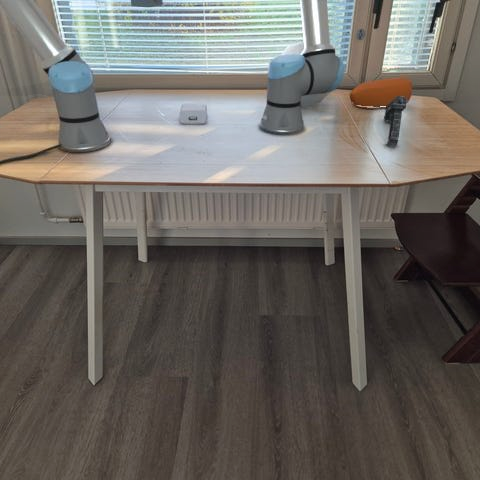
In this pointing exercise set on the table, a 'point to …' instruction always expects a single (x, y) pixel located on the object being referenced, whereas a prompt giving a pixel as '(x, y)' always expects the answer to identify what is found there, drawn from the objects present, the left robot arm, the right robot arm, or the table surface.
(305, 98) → the decorative sphere
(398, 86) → the clog
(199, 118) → the charger
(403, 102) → the futuristic handgun
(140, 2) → the block
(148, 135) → the table surface
